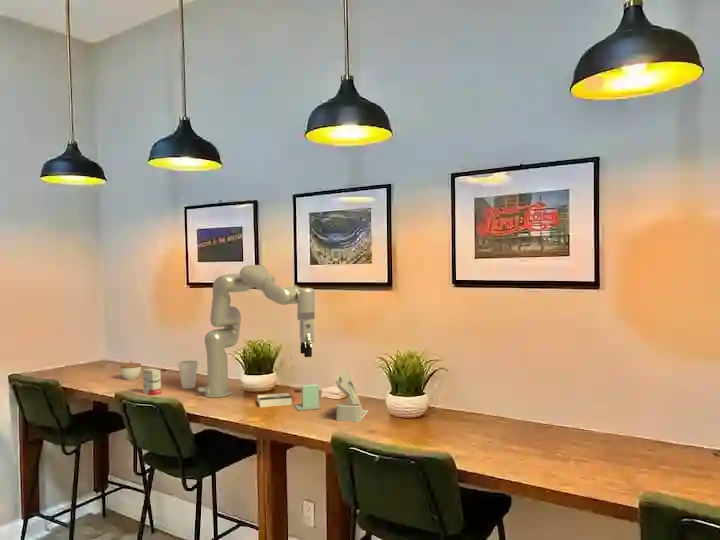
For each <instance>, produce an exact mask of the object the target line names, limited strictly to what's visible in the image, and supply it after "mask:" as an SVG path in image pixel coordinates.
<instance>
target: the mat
mask: <svg viewBox="0 0 720 540" xmlns="http://www.w3.org/2000/svg"><path fill="white" fill-rule="evenodd" d="M293 406H294V408H295V409H296V410H297V412H302V410H303V411H312V410H311V409H316V410H322V408H321V407H320V405H319V406H312V407H303V406H302V403H295V404H293Z"/></svg>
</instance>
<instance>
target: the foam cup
mask: <svg viewBox="0 0 720 540" xmlns="http://www.w3.org/2000/svg"><path fill="white" fill-rule="evenodd" d="M198 363H199V362H198V360H193V359H192V360H191V359H190V360H182V361H178V371H179V375H180V376H179V377H180V383H181V388H182V389H193V388H195V387H196V379H197V372H198V371H197V370H198V366H199V365H198Z"/></svg>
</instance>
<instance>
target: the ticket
mask: <svg viewBox="0 0 720 540" xmlns="http://www.w3.org/2000/svg"><path fill="white" fill-rule="evenodd" d="M319 389H320V388H319V384H306V385H305V384H303V385H301V404H302V406H303V407H312V406H319V407H320V405H319V404H320V395H319V394H320V392H319V391H320V390H319Z"/></svg>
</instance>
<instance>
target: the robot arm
mask: <svg viewBox="0 0 720 540" xmlns="http://www.w3.org/2000/svg"><path fill="white" fill-rule="evenodd" d="M254 288H256V289H257V290H259V291H261V292H262V293H263V295H264V296H265V298H267V299H268V300H270V301H272V302H274V303H276V304H279V305H282V306H283V305H284V306H285V305H294V304H295V305H296V304H297V305H296V306H297V310H296V311H297V313H296V315H297V321H299V340H300V354H303V356H304V358H312V356H313V350H312V349H313V348H312V343H314V342H315V332H314V320H315V317H316V316H315V313H316V311H315V307H316V306H315V303H316V302H315V298H316V295H315V289H314V288H313V287H312V288H311V287H299V286H288V287H282V286H280V285H278V284H276V279H275V276H274V275H272V274H270V273H269V271H268V269H267V268H266V267H265V266H264V265H261V264H250V265H249V264H248V265H245V266H243V267H242V268H241V269H240V270H239V273H232V274H231V273H229V274H222V275H219V276H217V277H216V278H215V279H214V282H213V284H212V301H211V307H210V308H211V310H210V323H211V325H212V326H213V327H215V328H216V329H213V330H210V331H209V332H207V333H206V334H205V337H204V345H205V349H206V361H207V367H206V368H207V370H206V371H207V373H206V374H207V384H206V386H204V387H197V392H199V393H204V396H205V397H206V398H213V399H216V398H225V397H228V396H229V397H230V396H231V395H232V391H231V390H229V378H228V377H229V376H228V371H229V368H228V365H229V364H228V362H229V361H228V355H227V352H226V351H225V349H226V348H231V347H234V346H235V345H236V344H237V343H238V341H239V338H240V331H241V323H242V315H241V311H240V309H239V308H237V307H236V306H232V305H231V302H232V301H231V295H230V293H237V292H239V293H240V292H247V291H249V290H251V289H254Z"/></svg>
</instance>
